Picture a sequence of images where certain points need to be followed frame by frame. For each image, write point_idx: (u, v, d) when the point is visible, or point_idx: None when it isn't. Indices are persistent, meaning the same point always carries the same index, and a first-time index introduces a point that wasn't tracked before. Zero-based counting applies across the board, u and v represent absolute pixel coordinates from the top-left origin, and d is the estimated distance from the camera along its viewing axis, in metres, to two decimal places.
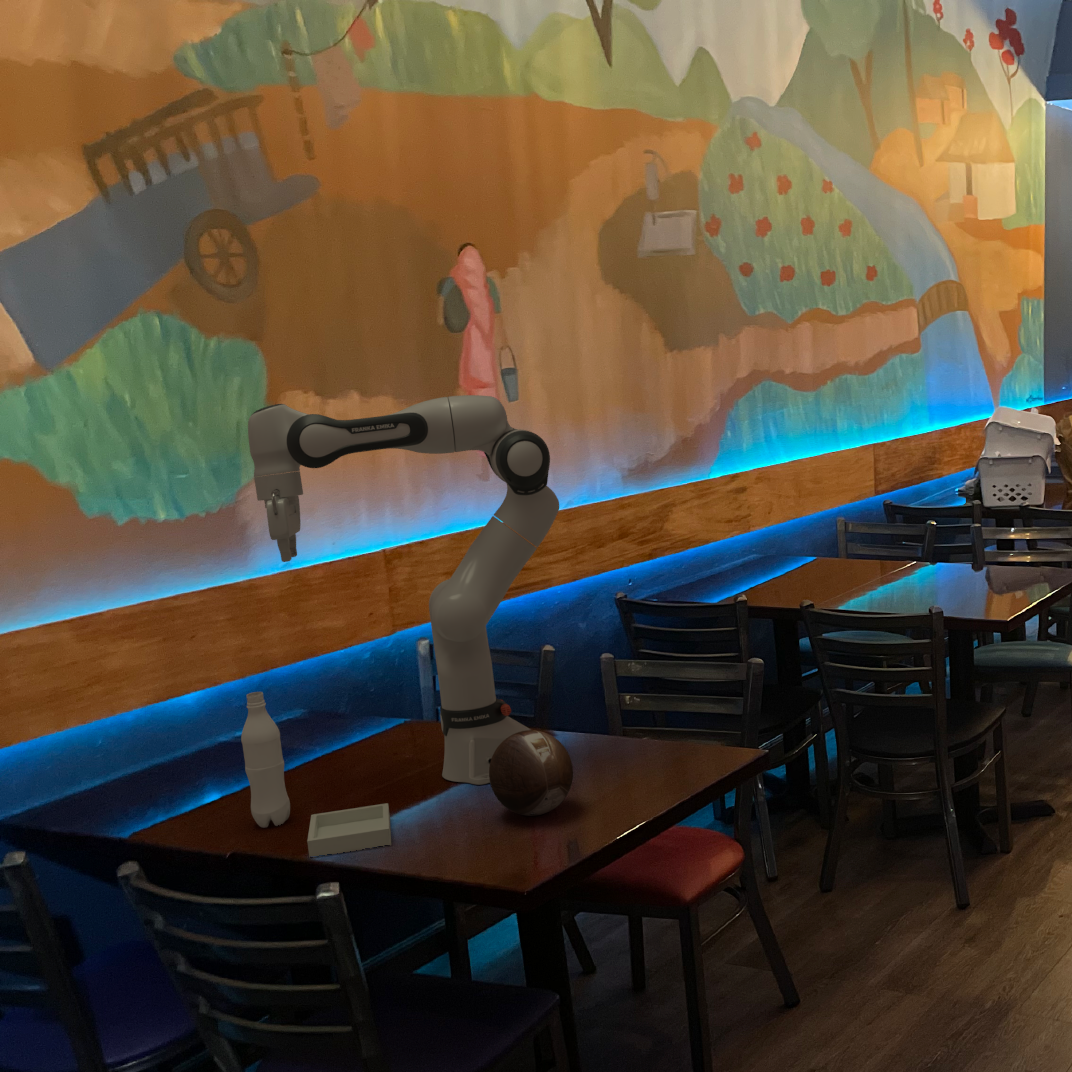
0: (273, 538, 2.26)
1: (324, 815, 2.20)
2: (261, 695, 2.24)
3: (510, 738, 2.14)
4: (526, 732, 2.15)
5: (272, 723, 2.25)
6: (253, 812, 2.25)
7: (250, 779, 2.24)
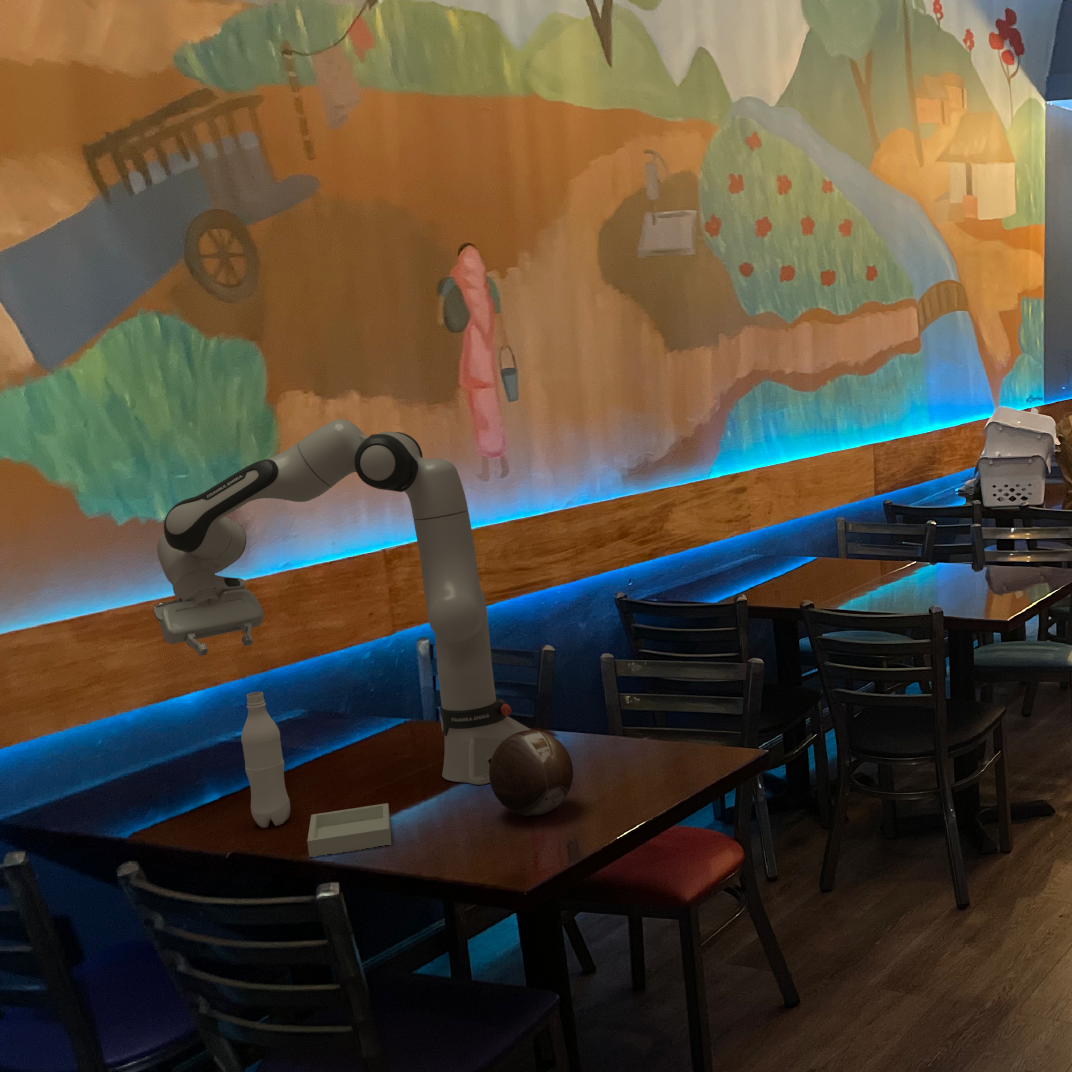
0: (169, 642, 2.33)
1: (324, 815, 2.20)
2: (261, 695, 2.24)
3: (510, 738, 2.14)
4: (526, 732, 2.15)
5: (272, 723, 2.25)
6: (253, 812, 2.25)
7: (250, 779, 2.24)
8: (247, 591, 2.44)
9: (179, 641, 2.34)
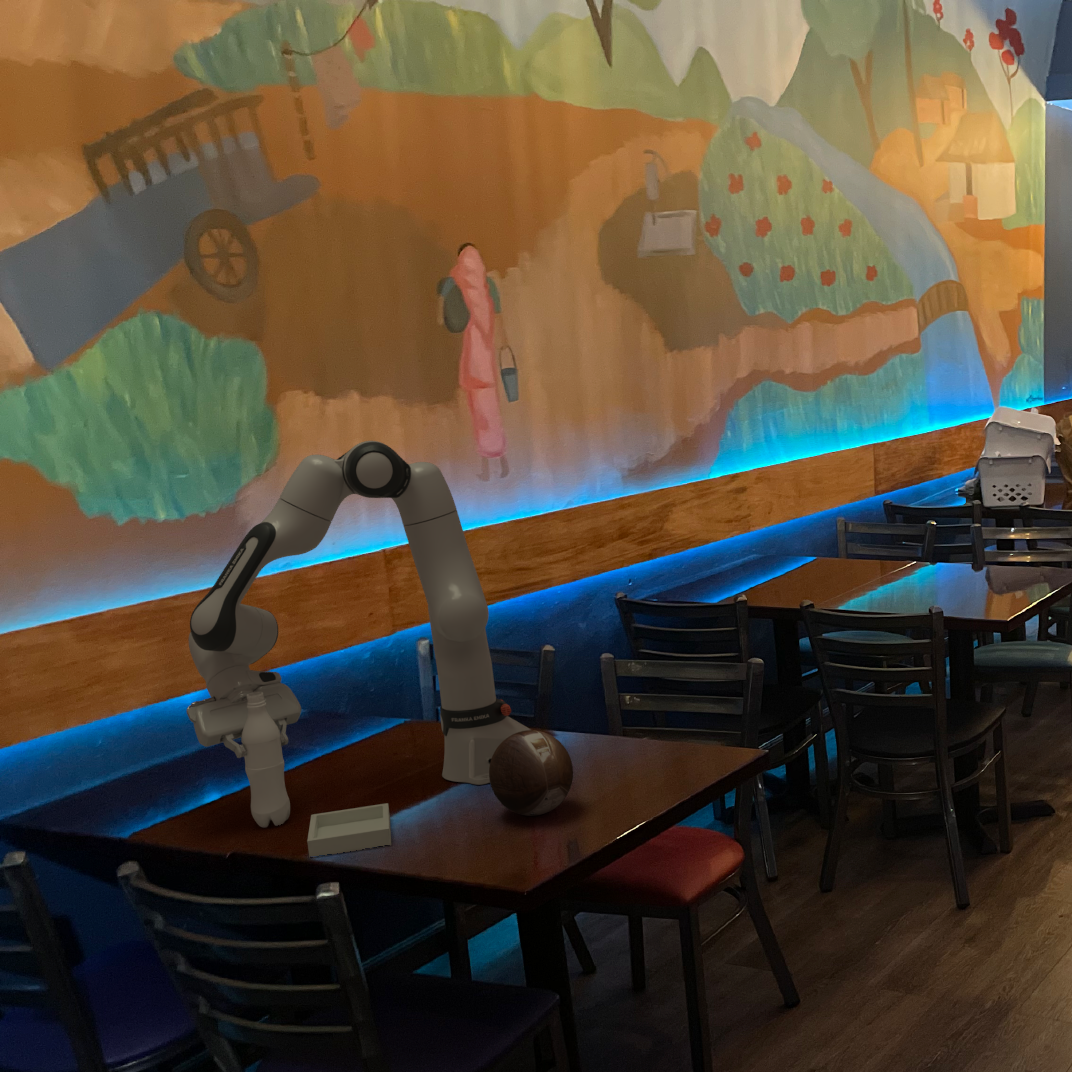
0: (204, 745, 2.23)
1: (324, 815, 2.20)
2: (261, 695, 2.24)
3: (510, 738, 2.14)
4: (526, 732, 2.15)
5: (272, 723, 2.25)
6: (253, 812, 2.25)
7: (250, 779, 2.24)
8: (283, 685, 2.34)
9: (214, 743, 2.24)
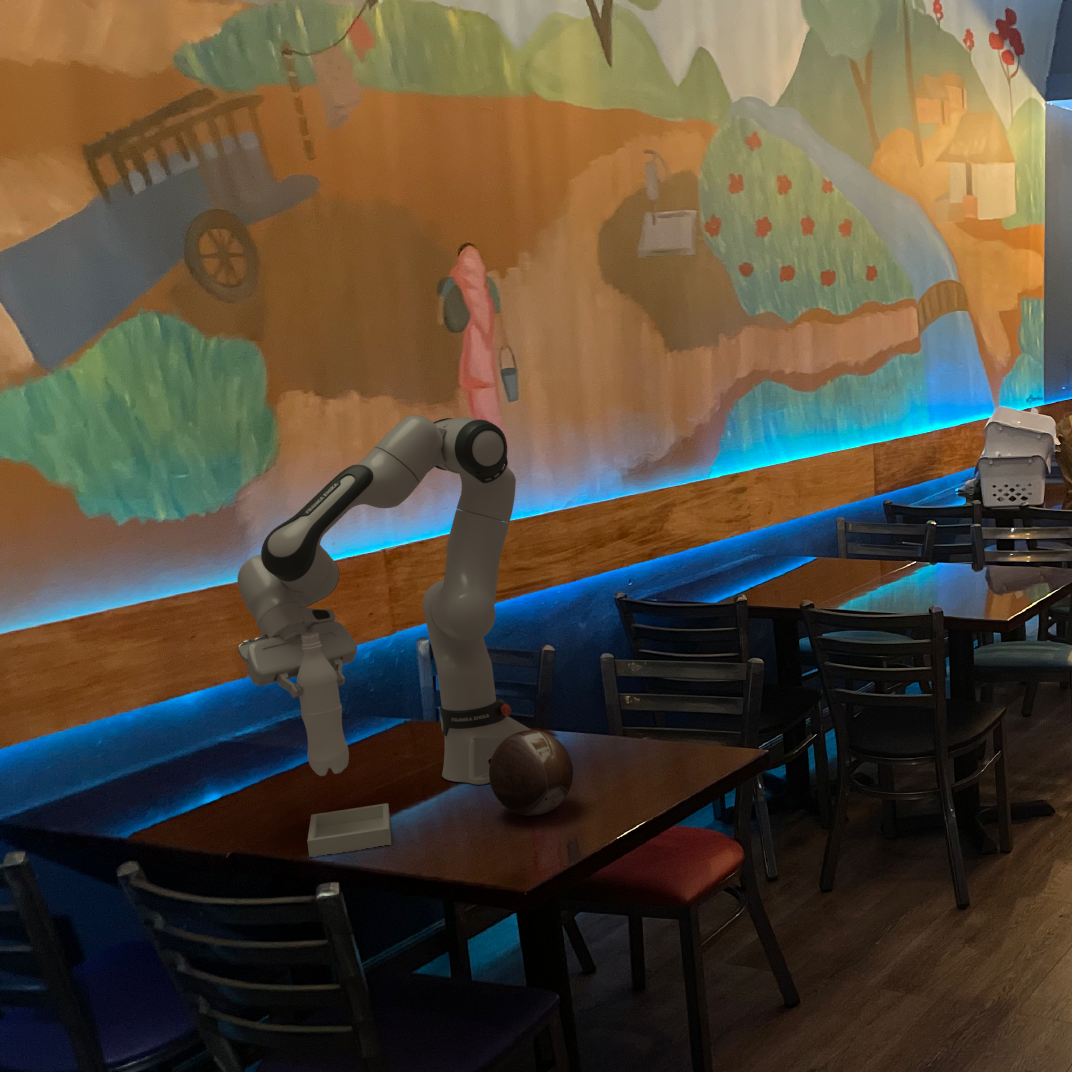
0: (257, 684, 2.11)
1: (324, 815, 2.20)
2: (317, 636, 2.12)
3: (510, 738, 2.14)
4: (526, 732, 2.15)
5: (329, 665, 2.13)
6: (310, 759, 2.13)
7: (307, 724, 2.12)
8: (338, 624, 2.22)
9: (268, 682, 2.12)
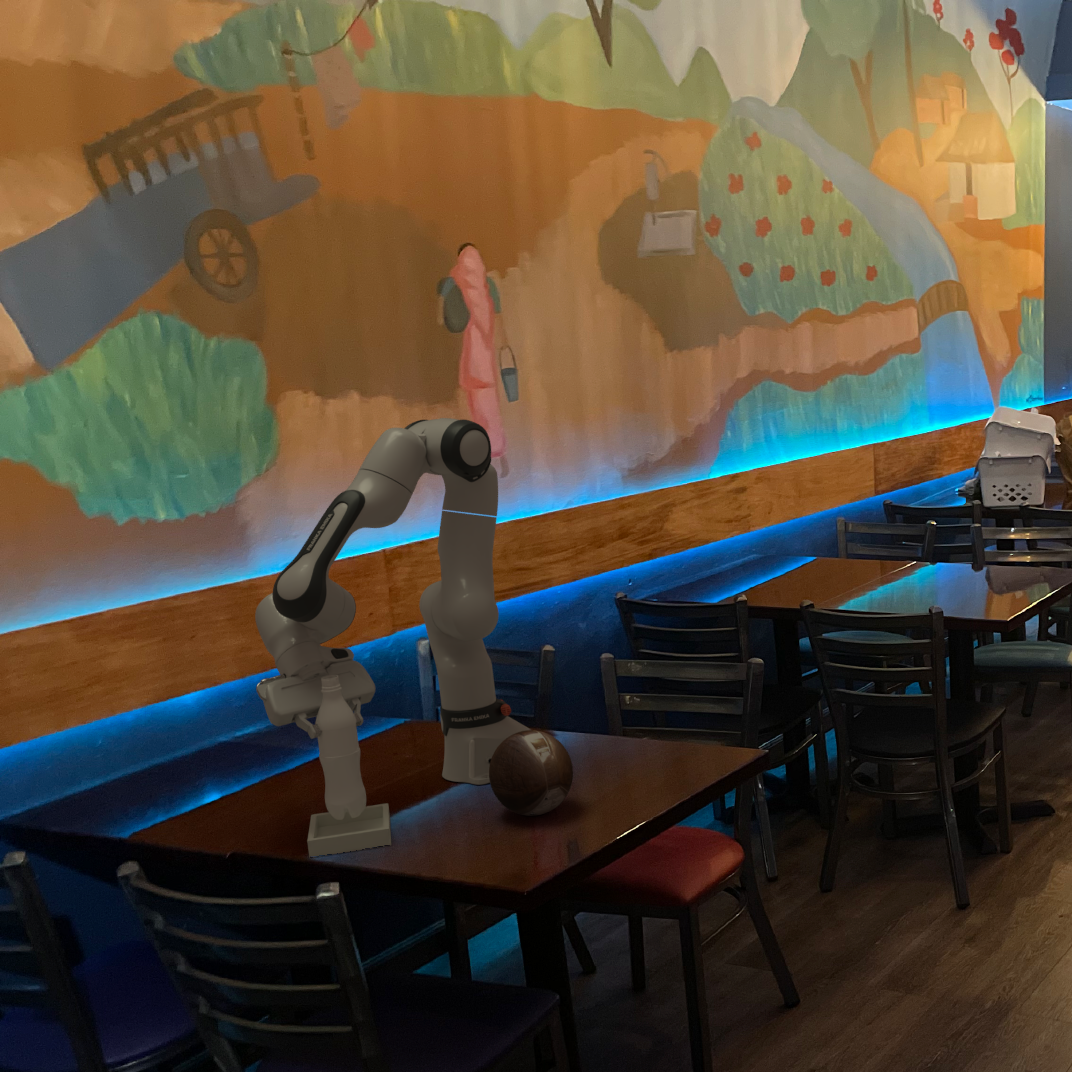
0: (275, 724, 2.09)
1: (324, 815, 2.20)
2: (337, 678, 2.11)
3: (510, 738, 2.14)
4: (526, 732, 2.15)
5: (348, 709, 2.11)
6: (328, 803, 2.11)
7: (325, 768, 2.11)
8: (356, 663, 2.21)
9: (286, 723, 2.10)
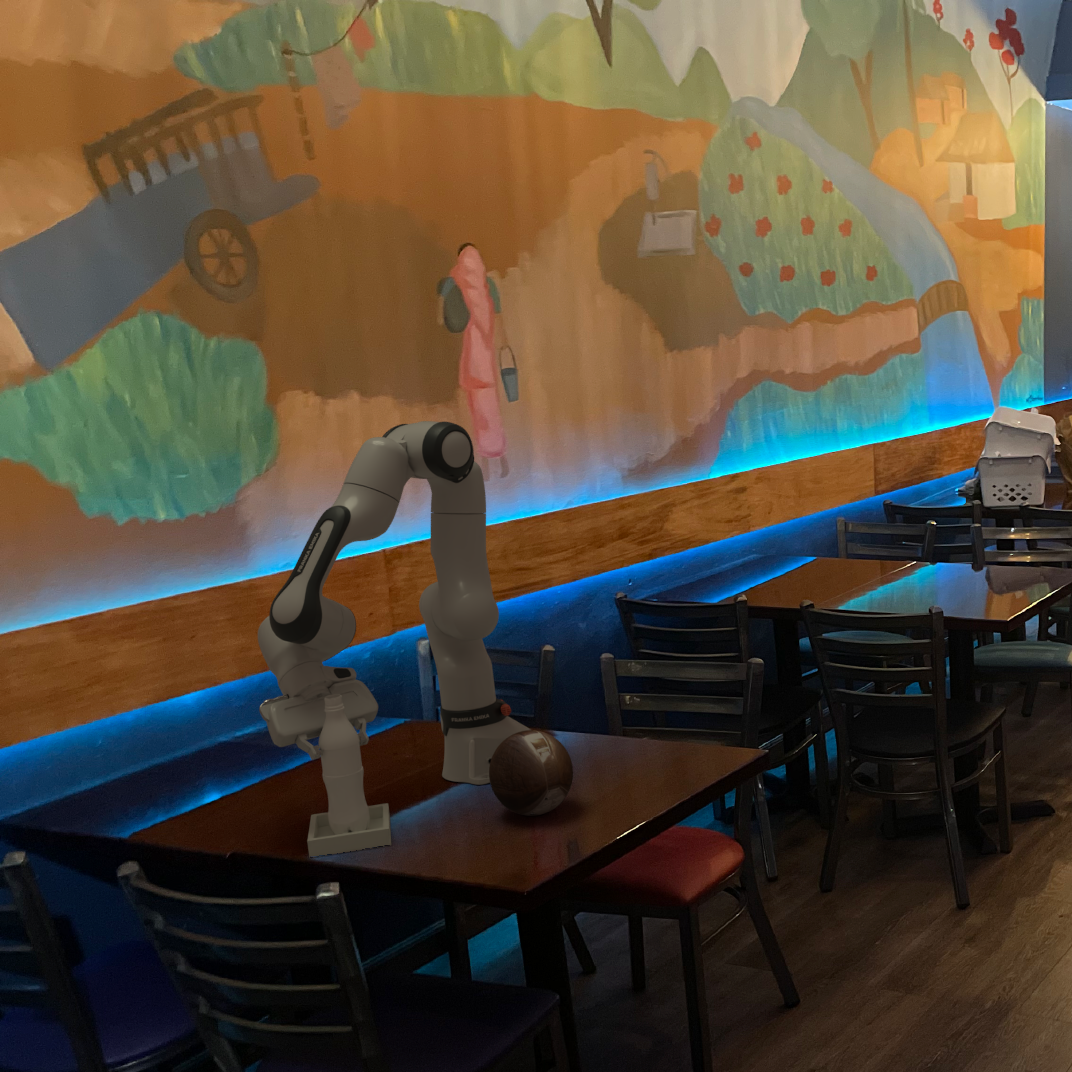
0: (278, 745, 2.10)
1: (324, 815, 2.20)
2: (340, 698, 2.11)
3: (510, 738, 2.14)
4: (526, 732, 2.15)
5: (351, 728, 2.12)
6: (331, 822, 2.12)
7: (328, 787, 2.11)
8: (359, 682, 2.21)
9: (289, 743, 2.11)
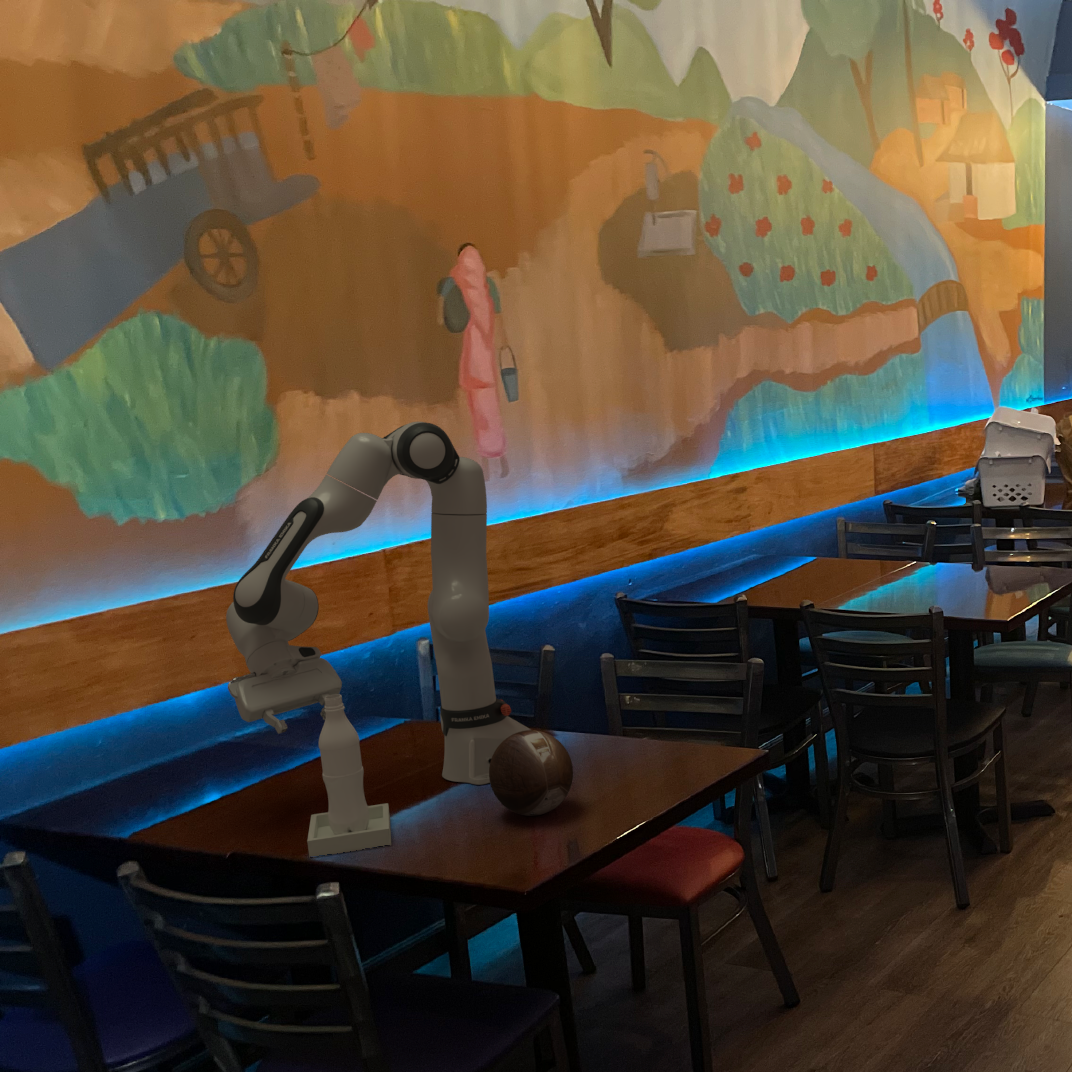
0: (246, 720, 2.21)
1: (324, 815, 2.20)
2: (340, 698, 2.11)
3: (510, 738, 2.14)
4: (526, 732, 2.15)
5: (351, 728, 2.12)
6: (331, 822, 2.12)
7: (328, 787, 2.11)
8: (323, 660, 2.32)
9: (257, 718, 2.22)
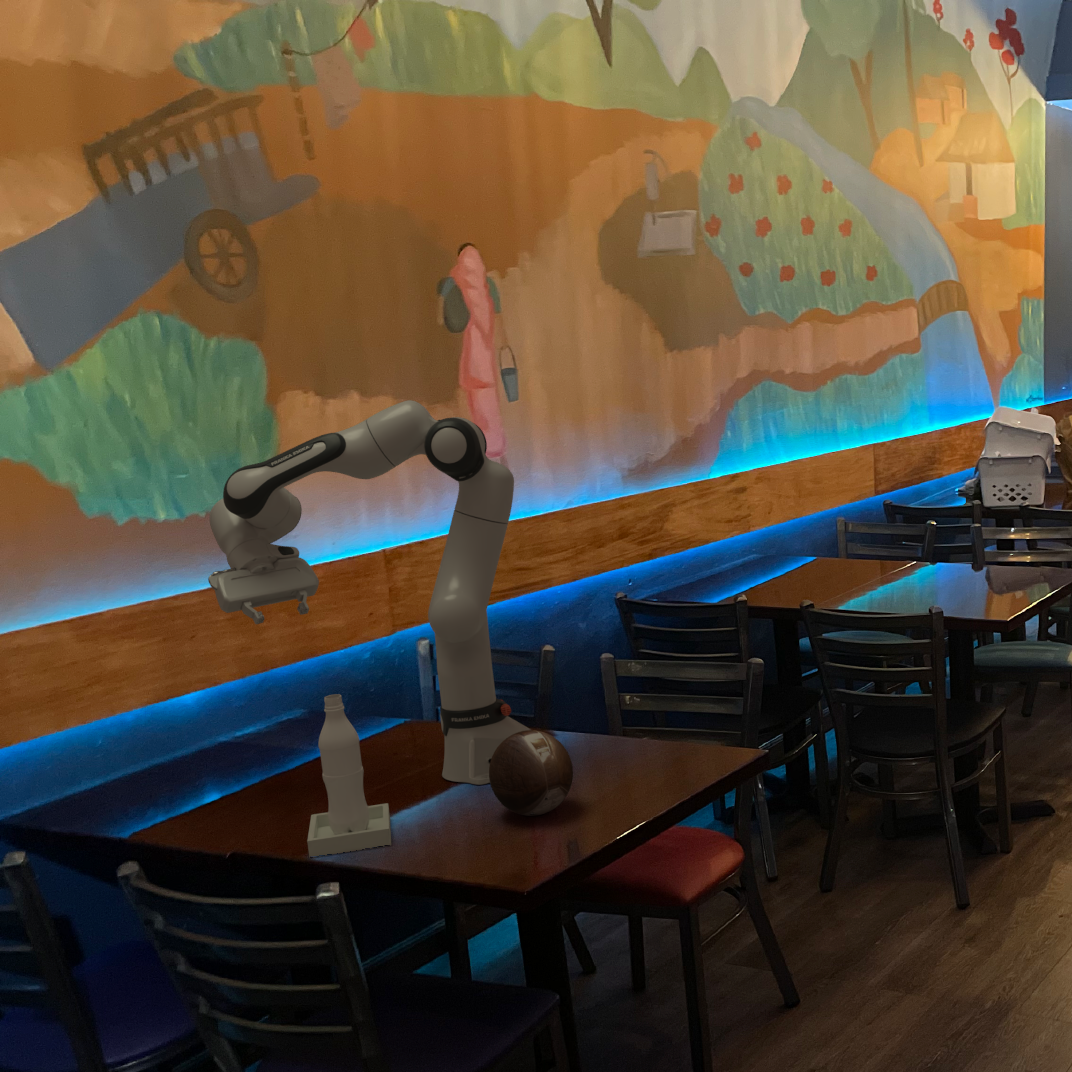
0: (225, 611, 2.30)
1: (324, 815, 2.20)
2: (340, 698, 2.11)
3: (510, 738, 2.14)
4: (526, 732, 2.15)
5: (351, 728, 2.12)
6: (331, 822, 2.12)
7: (328, 787, 2.11)
8: (301, 560, 2.41)
9: (235, 609, 2.31)
